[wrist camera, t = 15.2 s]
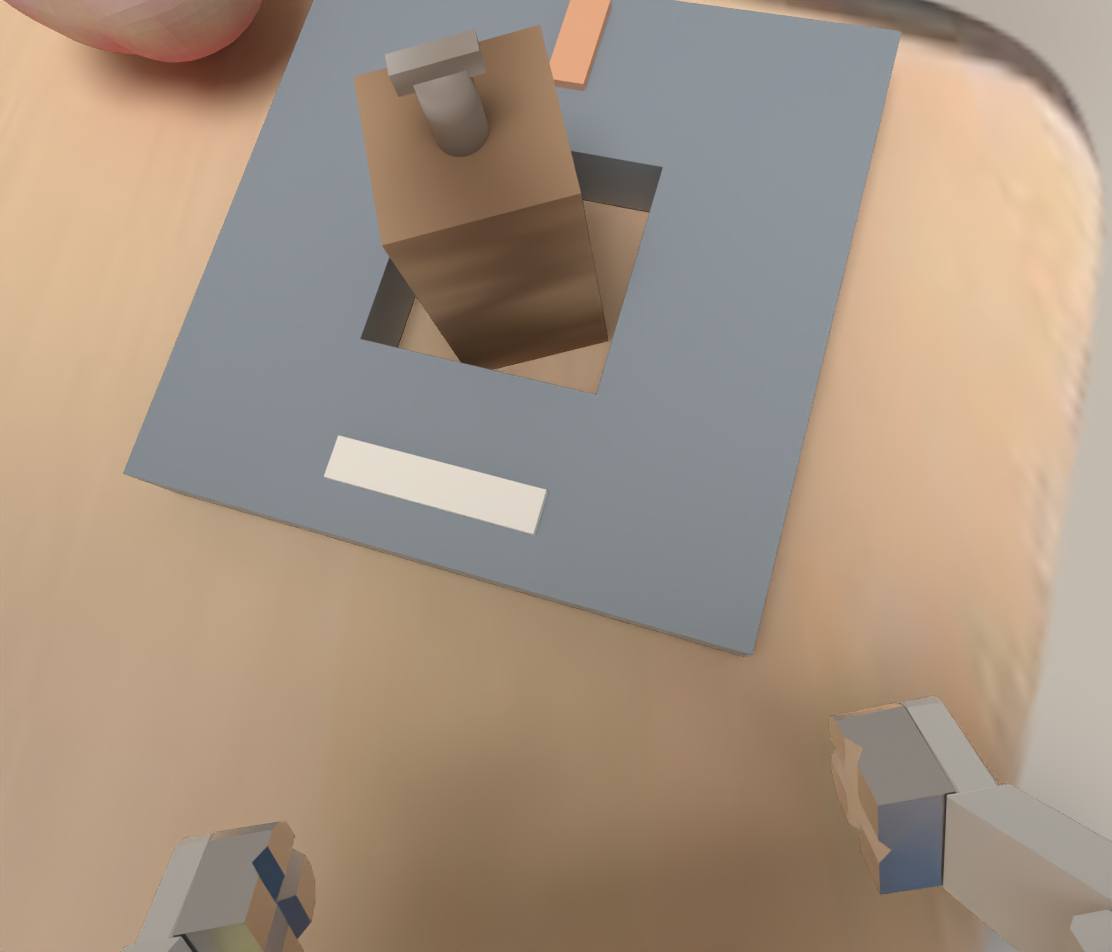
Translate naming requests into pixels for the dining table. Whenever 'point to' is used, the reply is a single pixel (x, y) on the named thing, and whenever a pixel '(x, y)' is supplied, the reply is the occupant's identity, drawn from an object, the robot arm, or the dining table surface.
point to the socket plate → (520, 403)
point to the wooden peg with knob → (482, 196)
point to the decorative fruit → (146, 24)
